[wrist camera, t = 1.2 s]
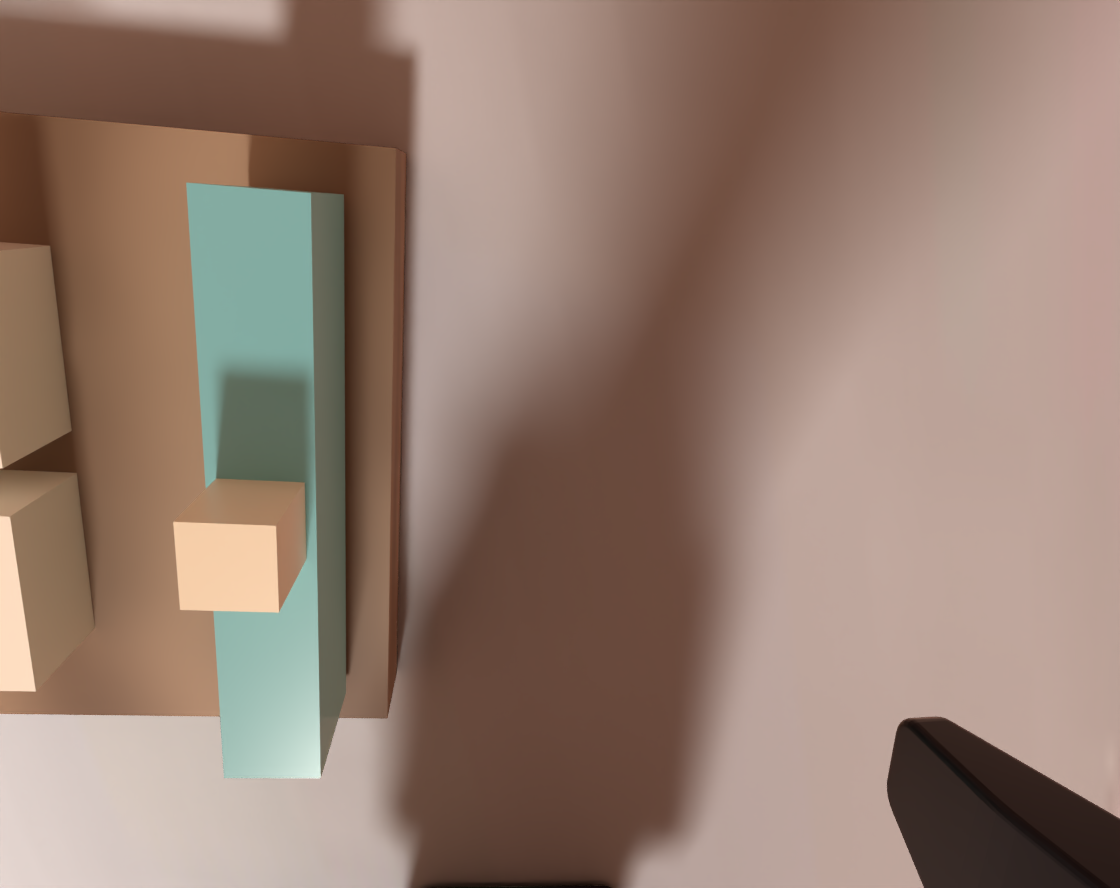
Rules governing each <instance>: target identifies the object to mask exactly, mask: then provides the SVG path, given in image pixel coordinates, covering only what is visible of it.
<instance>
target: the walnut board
mask: <svg viewBox="0 0 1120 888" xmlns="http://www.w3.org/2000/svg"><path fill="white" fill-rule="evenodd" d="M186 183H202V184H218V185H235V186H249V187H261V188H273V189H285V190H296V191H308V192H320V193H332V194H344V317H345V547H346V694H345V698H344V701H343V705H342V708H341V711H340V715H339V718H388V713H389V708H390V703H391V698H392V693H393V688H394V683H395V678H396V673H397V620H398V567H399V514H400V461H401V408H402V355H403V302H404V249H405V196H406V153H404V152H402V151H400V150H399V149H397V148H390V147H379V146H368V145H357V144H346V143H335V142H324V141H314V140H303V139H292V138H281V137H270V136H259V135H248V134H237V133H226V132H215V131H204V130H193V129H182V128H171V127H160V126H149V125H138V124H128V123H117V122H106V121H95V120H84V119H73V118H62V117H51V116H40V115H29V114H18V113H7V112H0V242H6V243H20V244H33V245H47V246H50V250H51V259H52V267H53V276H54V284H55V293H56V301H57V310H58V318H59V327H60V335H61V344H62V352H63V361H64V369H65V378H66V386H67V395H68V403H69V412H70V421H71V429H72V431H70V432H68V433H67V434H65V435H63V436H61V437H59V438H57V439H56V440H54V441H52V442H50V443H48V444H47V445H45V446H43V447H41V448H39V449H37V450H36V451H34V452H32V453H30V454H28V455H26V456H25V457H23V458H21V459H19V460H17V461H15V462H14V463H12V464H10V465H8V466H6V467H4V468H0V470H22V471H45V472H67V473H77V480H78V489H79V497H80V506H81V514H82V523H83V531H84V540H85V548H86V557H87V565H88V574H89V582H90V591H91V599H92V608H93V616H94V625H95V628H94V629H93V631H92V632H91V633H90V634H89V635H88V636H87V637H86V638H85V639H84V640H83V641H82V642H81V643H80V645H79V646H78V647H77V648H76V649H75V650H74V651H73V652H72V653H71V654H70V655H69V656H68V657H67V658H66V660H65V661H64V662H63V663H62V664H61V665H60V666H59V667H58V668H57V669H56V670H55V671H54V672H53V674H52V675H51V676H50V677H49V678H48V679H47V680H46V681H45V682H44V683H43V684H42V685H41V686H40V688H39V689H38V690H37V691H36V692H35V691H0V714H67V715H150V716H220V706H219V691H218V675H217V659H216V644H215V628H214V612H213V611H200V610H180V603H179V590H178V577H177V564H176V552H175V539H174V526H173V522H174V521H175V520H176V518H177V517H178V516H179V515H180V514H181V513H182V512H183V511H184V510H185V509H186V508H187V507H188V506H189V505H190V504H191V503H192V502H193V501H194V500H195V499H196V498H197V497H198V496H199V495H200V494H201V493H202V492H203V491H204V490H205V489H206V486H205V470H204V455H203V439H202V423H201V408H200V392H199V376H198V360H197V345H196V329H195V313H194V297H193V282H192V266H191V250H190V235H189V219H188V203H187V187H186Z"/></svg>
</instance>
